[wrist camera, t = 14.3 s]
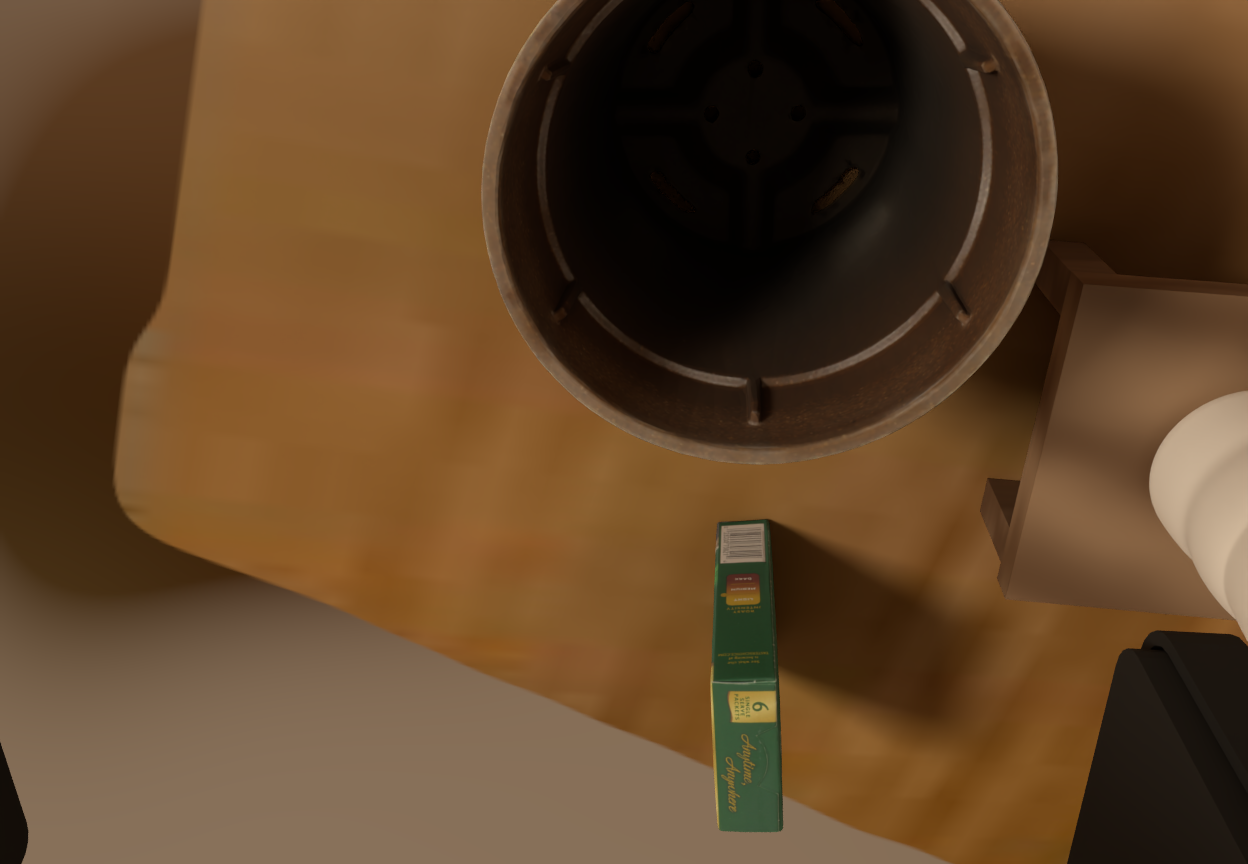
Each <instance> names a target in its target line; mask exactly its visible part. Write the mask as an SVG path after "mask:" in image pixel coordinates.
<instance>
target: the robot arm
mask: <svg viewBox="0 0 1248 864" xmlns="http://www.w3.org/2000/svg"><path fill="white" fill-rule="evenodd" d="M27 843H28V827H27V822H26V819H25V816H24V813H23V810H22V807H21V804H20V801H19V798H18V795H17V792H16V789H15V786H14V783H13V780H12V777H11V774H10V770H9V767H8V765H7V761H6V758H5V755H4V752H3V749H2V746H1V743H0V864H21V863H22V861H23V858H24V856H25V853H26V848H27ZM1067 864H1248V646H1247V645H1246V644H1245V643H1244V642H1243V641H1242V640H1241V639H1240V638H1239V637H1237V636H1234V635H1231V634H1216V633H1196V632H1177V631H1154V632H1152V633H1150V634H1149V635H1148V636H1147V638H1146V639H1145V640H1144V642H1143V645H1142V648H1141V649H1129V648H1128V649H1125V650H1123V651H1122V653H1121V654H1120V656H1119V658H1118V661H1117V664H1116V667H1115V671H1114V675H1113V679H1112V683H1111V688H1110V692H1109V696H1108V700H1107V704H1106V708H1105V712H1104V716H1103V720H1102V724H1101V728H1100V732H1099V736H1098V740H1097V744H1096V749H1095V753H1094V757H1093V761H1092V765H1091V769H1090V773H1089V777H1088V781H1087V785H1086V789H1085V793H1084V797H1083V801H1082V805H1081V810H1080V814H1079V818H1078V822H1077V826H1076V830H1075V834H1074V838H1073V842H1072V846H1071V850H1070V854H1069V858H1068V862H1067Z"/></svg>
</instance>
